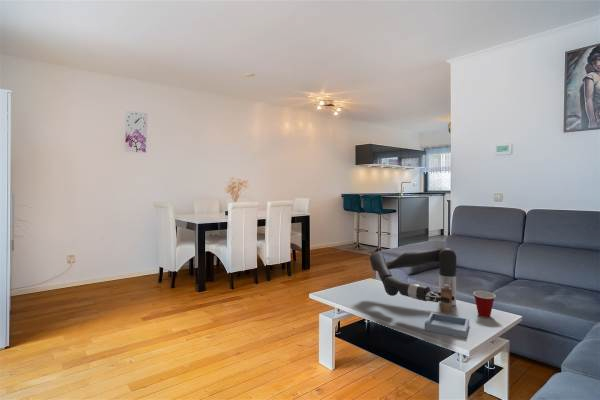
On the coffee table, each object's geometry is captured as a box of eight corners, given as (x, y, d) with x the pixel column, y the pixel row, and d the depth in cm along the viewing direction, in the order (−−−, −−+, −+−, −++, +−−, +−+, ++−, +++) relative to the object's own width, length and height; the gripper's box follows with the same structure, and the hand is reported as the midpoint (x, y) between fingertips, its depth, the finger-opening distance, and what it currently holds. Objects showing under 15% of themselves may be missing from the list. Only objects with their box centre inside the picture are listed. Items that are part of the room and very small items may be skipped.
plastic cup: (474, 317, 179) (474, 295, 179) (471, 311, 189) (471, 290, 189) (497, 320, 175) (497, 297, 175) (493, 313, 186) (493, 291, 185)
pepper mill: (441, 310, 169) (441, 283, 169) (452, 312, 167) (452, 284, 166) (439, 313, 165) (440, 285, 165) (450, 315, 162) (451, 287, 162)
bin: (431, 318, 178) (431, 312, 178) (469, 325, 169) (469, 318, 169) (424, 330, 163) (424, 323, 163) (465, 338, 154) (465, 331, 154)
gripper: (425, 296, 181) (457, 304, 169) (412, 302, 171) (445, 310, 159) (425, 282, 181) (457, 289, 169) (412, 287, 171) (445, 295, 159)
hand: (451, 299), depth 164 cm, fingers closed on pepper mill, 5 cm apart
